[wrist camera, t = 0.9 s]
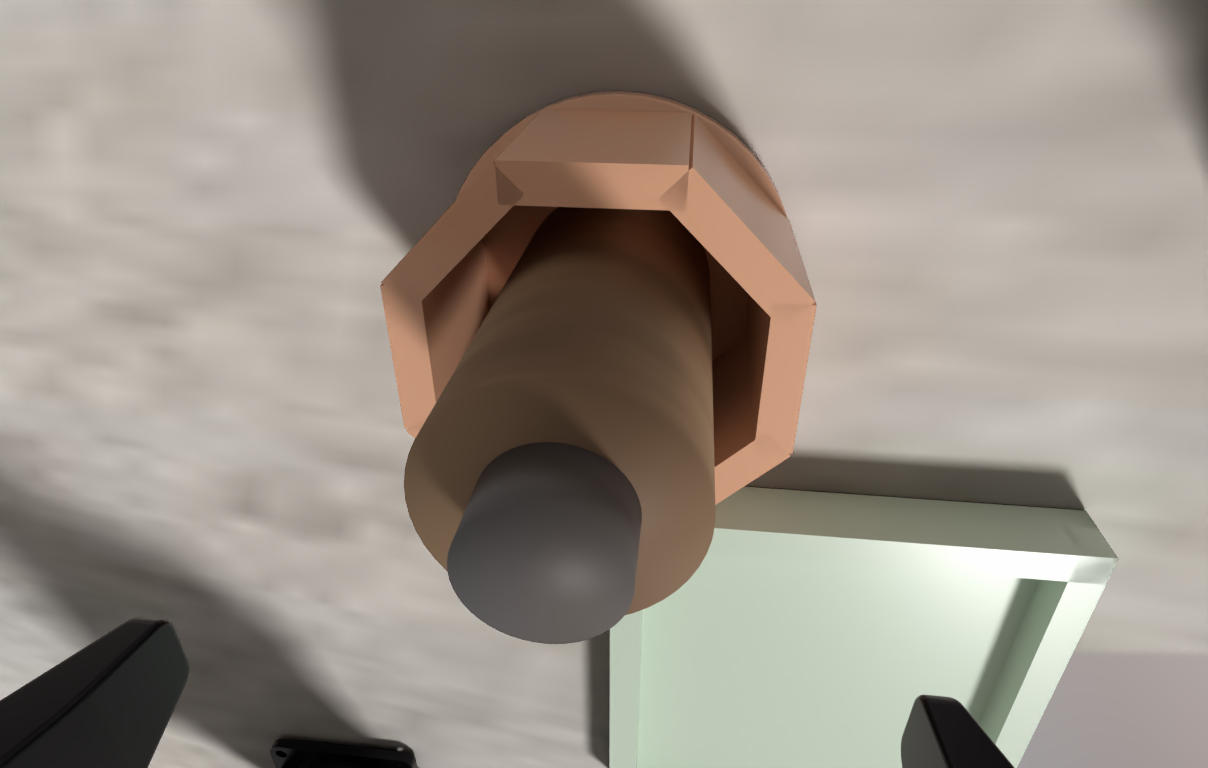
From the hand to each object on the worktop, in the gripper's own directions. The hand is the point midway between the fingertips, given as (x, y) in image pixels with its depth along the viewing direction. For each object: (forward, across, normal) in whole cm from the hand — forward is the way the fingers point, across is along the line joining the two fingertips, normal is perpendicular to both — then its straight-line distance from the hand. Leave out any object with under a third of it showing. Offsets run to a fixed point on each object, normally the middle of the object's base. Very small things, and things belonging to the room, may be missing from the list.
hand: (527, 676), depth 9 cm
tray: (+13, -7, +15) cm, 21 cm away
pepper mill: (+12, 0, 0) cm, 12 cm away
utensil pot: (+13, 0, 0) cm, 13 cm away
